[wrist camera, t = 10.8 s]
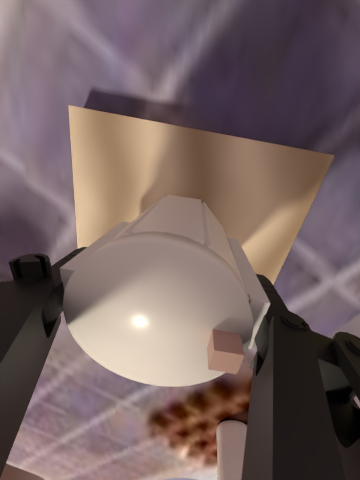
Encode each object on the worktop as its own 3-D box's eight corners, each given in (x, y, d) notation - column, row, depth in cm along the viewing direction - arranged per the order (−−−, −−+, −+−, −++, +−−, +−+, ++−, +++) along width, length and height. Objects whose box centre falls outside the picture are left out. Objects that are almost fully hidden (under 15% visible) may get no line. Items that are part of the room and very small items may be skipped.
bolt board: (88, 282, 20) (30, 345, 13) (81, 111, 13) (-41, 56, 7) (249, 315, 19) (276, 398, 13) (320, 156, 13) (456, 147, 6)
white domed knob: (135, 267, 17) (62, 390, 8) (138, 188, 14) (25, 235, 5) (212, 280, 16) (229, 422, 7) (231, 202, 13) (297, 279, 5)
